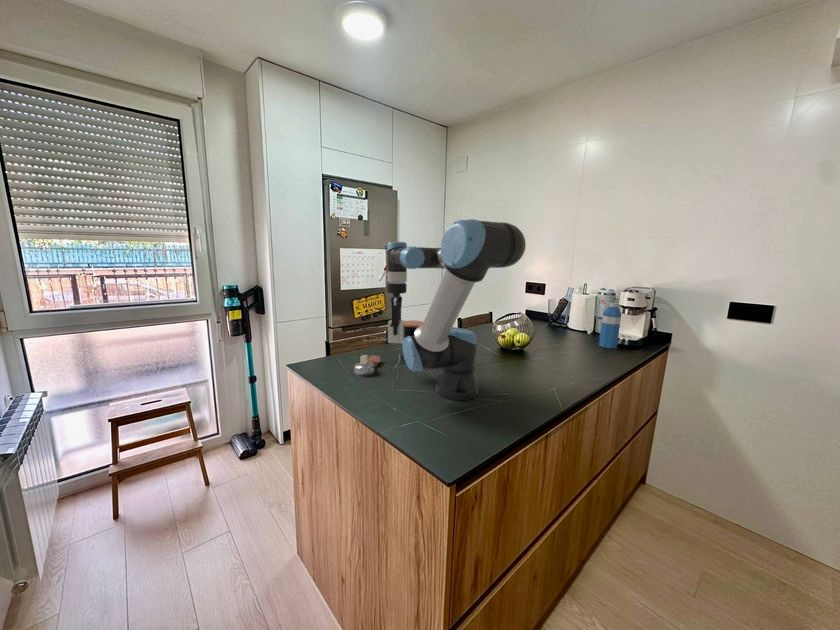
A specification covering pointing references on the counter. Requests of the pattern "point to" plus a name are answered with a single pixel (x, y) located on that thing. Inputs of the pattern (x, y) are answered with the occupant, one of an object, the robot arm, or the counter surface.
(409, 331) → the coffee jar
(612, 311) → the water bottle
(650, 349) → the counter surface
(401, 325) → the silver metal block
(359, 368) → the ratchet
